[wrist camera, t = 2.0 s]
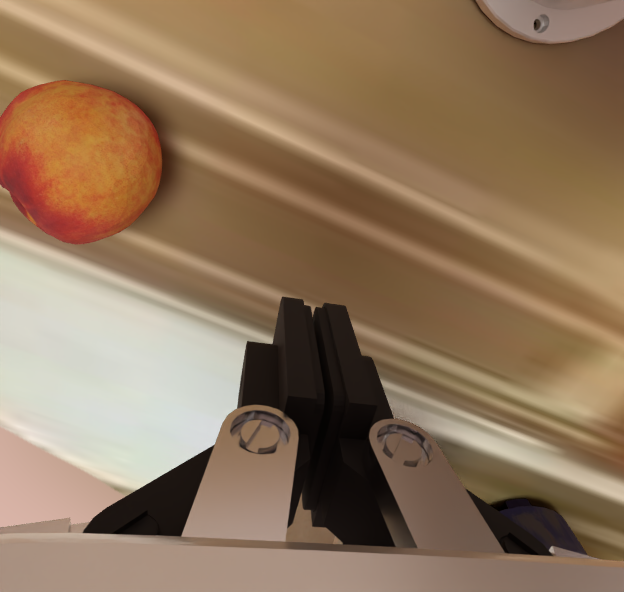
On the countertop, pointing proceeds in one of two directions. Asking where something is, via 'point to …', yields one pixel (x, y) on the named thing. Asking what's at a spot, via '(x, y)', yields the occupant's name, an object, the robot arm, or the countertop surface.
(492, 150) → the countertop surface
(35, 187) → the fruit
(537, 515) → the smoke canister
